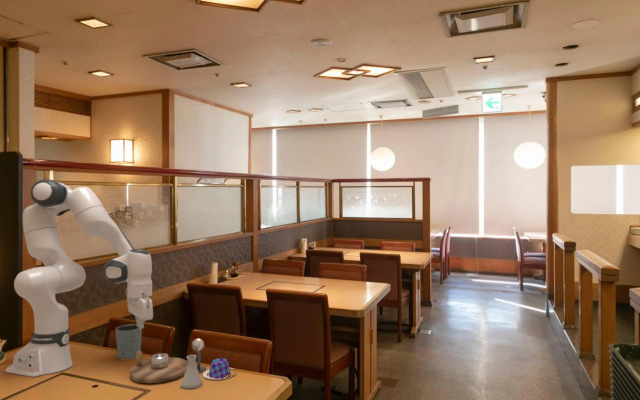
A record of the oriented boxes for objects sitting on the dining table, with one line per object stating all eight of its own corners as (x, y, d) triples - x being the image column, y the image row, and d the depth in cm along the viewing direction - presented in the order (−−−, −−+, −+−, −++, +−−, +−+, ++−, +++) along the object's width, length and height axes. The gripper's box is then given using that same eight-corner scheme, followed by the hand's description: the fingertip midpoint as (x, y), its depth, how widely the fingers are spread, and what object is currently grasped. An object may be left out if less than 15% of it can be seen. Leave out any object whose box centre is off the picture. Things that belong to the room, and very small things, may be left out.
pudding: (220, 366, 172) (220, 353, 172) (243, 373, 165) (243, 359, 165) (195, 376, 162) (195, 362, 162) (219, 384, 155) (219, 369, 155)
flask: (196, 390, 149) (196, 360, 149) (176, 388, 151) (176, 359, 151) (205, 382, 156) (206, 353, 156) (187, 380, 158) (187, 352, 158)
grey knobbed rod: (190, 372, 165) (190, 339, 165) (195, 368, 169) (195, 336, 169) (202, 373, 165) (202, 340, 165) (206, 369, 169) (206, 336, 169)
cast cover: (147, 369, 161) (147, 356, 161) (156, 363, 167) (156, 351, 167) (163, 370, 160) (163, 357, 160) (171, 364, 166) (171, 352, 166)
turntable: (118, 381, 155) (118, 361, 155) (148, 361, 175) (148, 343, 175) (172, 384, 152) (172, 364, 152) (196, 363, 172) (196, 345, 172)
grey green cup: (129, 361, 176) (129, 331, 176) (109, 359, 179) (109, 329, 180) (147, 353, 186) (147, 325, 186) (127, 351, 189) (127, 322, 189)
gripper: (157, 294, 165) (157, 331, 164) (140, 287, 181) (140, 321, 180) (139, 296, 161) (140, 335, 160) (124, 289, 177) (124, 324, 176)
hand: (140, 327), depth 171 cm, fingers closed
